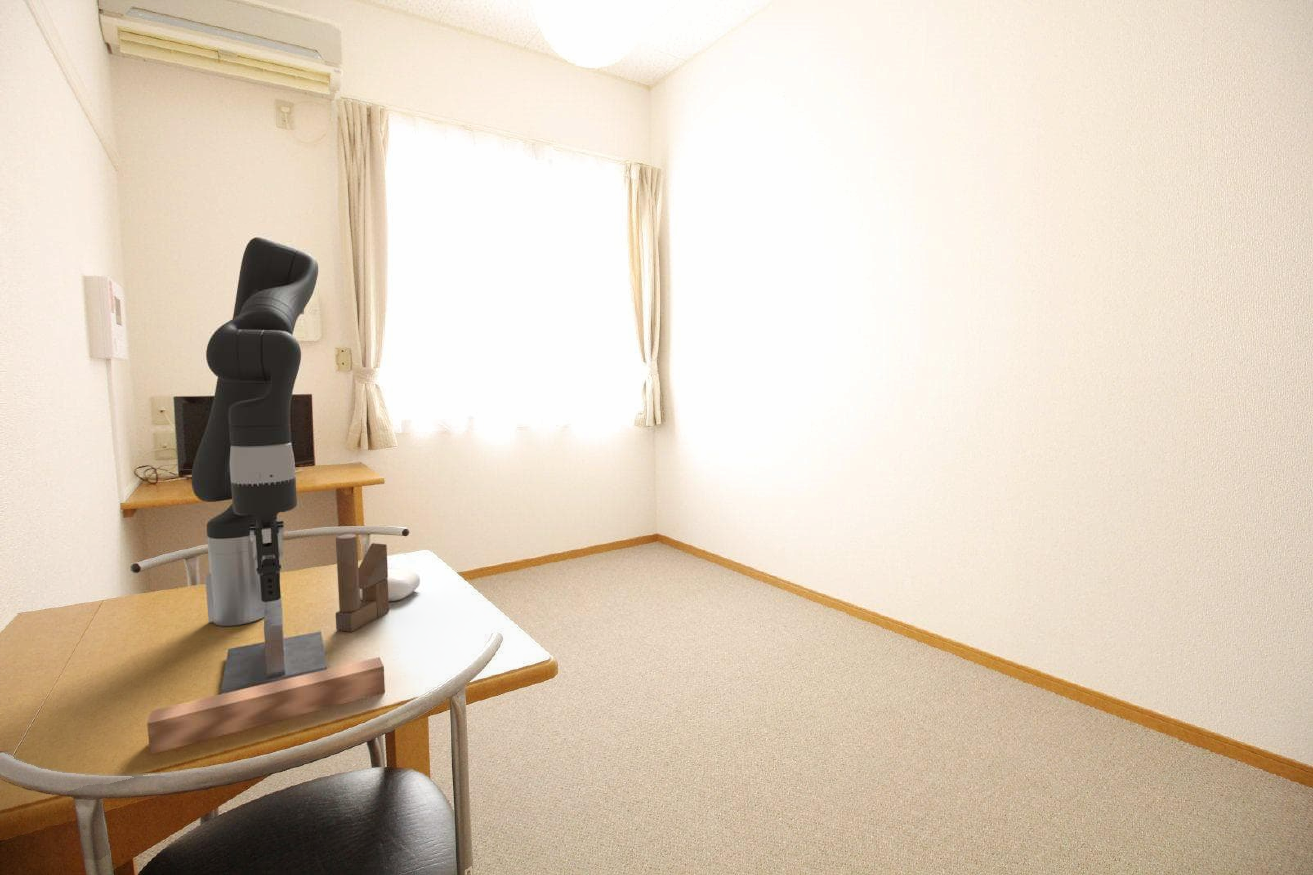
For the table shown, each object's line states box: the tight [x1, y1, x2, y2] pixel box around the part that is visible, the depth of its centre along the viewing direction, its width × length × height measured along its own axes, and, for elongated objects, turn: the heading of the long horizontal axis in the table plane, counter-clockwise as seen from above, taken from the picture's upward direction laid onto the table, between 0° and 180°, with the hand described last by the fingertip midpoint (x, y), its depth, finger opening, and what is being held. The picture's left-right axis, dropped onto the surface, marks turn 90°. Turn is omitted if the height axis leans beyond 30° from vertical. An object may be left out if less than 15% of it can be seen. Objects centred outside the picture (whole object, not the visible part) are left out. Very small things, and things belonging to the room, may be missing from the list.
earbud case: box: [359, 568, 421, 602], centre depth 135 cm, size 10×13×5 cm
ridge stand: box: [220, 597, 328, 694], centre depth 102 cm, size 16×14×10 cm
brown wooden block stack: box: [335, 533, 390, 633], centre depth 120 cm, size 4×11×18 cm, turn 165°
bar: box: [146, 656, 386, 755], centre depth 88 cm, size 28×4×4 cm, turn 124°
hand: (271, 591), depth 86 cm, fingers open, 8 cm apart
